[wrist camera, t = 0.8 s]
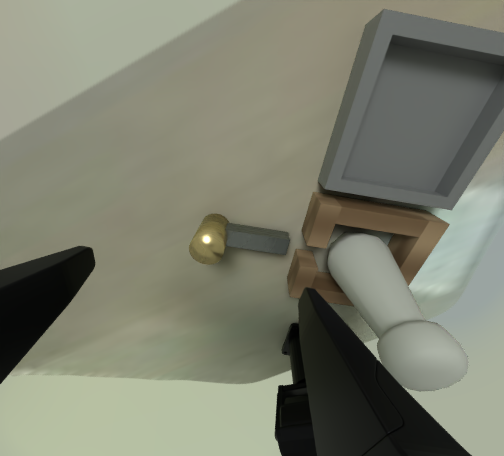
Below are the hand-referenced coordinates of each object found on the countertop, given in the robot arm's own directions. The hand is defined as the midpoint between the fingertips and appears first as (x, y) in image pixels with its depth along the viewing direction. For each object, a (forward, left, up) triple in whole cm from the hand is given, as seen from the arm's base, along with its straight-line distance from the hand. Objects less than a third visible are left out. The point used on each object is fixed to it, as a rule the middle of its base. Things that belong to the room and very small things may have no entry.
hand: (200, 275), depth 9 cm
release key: (-5, -2, -13) cm, 14 cm away
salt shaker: (-5, -13, -13) cm, 19 cm away
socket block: (-5, -13, -13) cm, 19 cm away
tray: (+7, -13, -13) cm, 20 cm away
